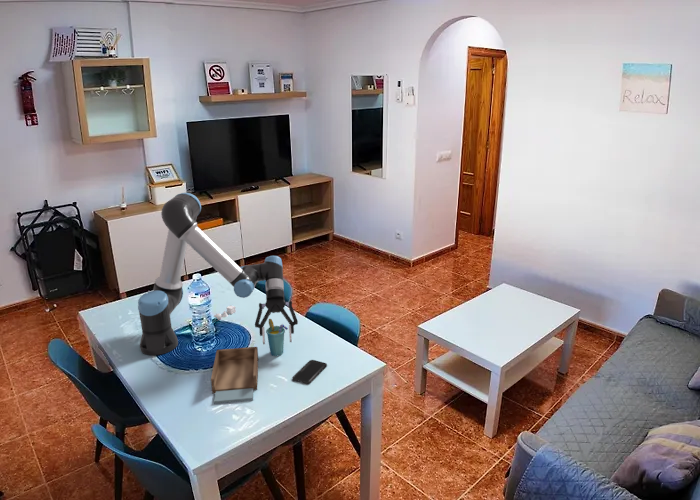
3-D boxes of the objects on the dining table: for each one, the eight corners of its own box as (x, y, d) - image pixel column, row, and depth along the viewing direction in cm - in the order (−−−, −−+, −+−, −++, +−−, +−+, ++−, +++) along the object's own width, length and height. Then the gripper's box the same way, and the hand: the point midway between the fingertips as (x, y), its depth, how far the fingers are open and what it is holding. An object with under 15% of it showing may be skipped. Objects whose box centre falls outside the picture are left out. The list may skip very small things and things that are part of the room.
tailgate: (216, 393, 184) (214, 403, 179) (215, 391, 184) (214, 401, 179) (253, 390, 186) (253, 400, 181) (253, 388, 186) (252, 397, 180)
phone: (327, 363, 202) (308, 383, 189) (327, 366, 202) (309, 385, 190) (310, 359, 205) (290, 378, 193) (310, 361, 206) (290, 380, 193)
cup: (296, 356, 209) (294, 323, 204) (281, 363, 204) (279, 330, 199) (275, 344, 218) (273, 312, 213) (260, 351, 213) (258, 318, 208)
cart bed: (212, 393, 185) (210, 379, 183) (217, 362, 204) (216, 349, 202) (257, 389, 187) (256, 375, 185) (258, 359, 206) (257, 346, 204)
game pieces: (231, 311, 250) (230, 305, 249) (236, 312, 249) (235, 306, 248) (213, 320, 240) (212, 314, 239) (218, 322, 239) (218, 315, 238)
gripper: (301, 292, 220) (305, 342, 211) (248, 296, 217) (249, 347, 208) (301, 286, 214) (305, 337, 204) (247, 289, 210) (248, 341, 201)
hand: (277, 342), depth 206 cm, fingers open, 10 cm apart
